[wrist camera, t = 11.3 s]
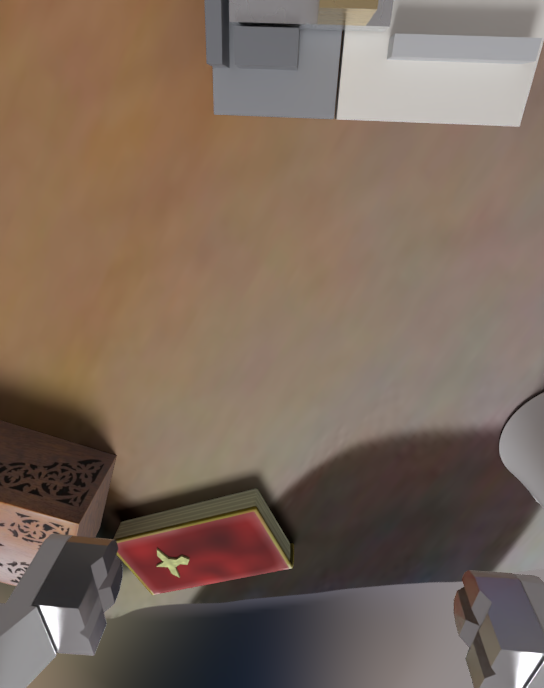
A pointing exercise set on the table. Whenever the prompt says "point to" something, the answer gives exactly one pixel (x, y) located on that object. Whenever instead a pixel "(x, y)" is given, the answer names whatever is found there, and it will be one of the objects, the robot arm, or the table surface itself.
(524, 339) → the table surface
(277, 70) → the plate
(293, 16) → the bolt
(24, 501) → the tissue box cover
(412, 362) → the table surface
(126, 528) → the hardcover book
